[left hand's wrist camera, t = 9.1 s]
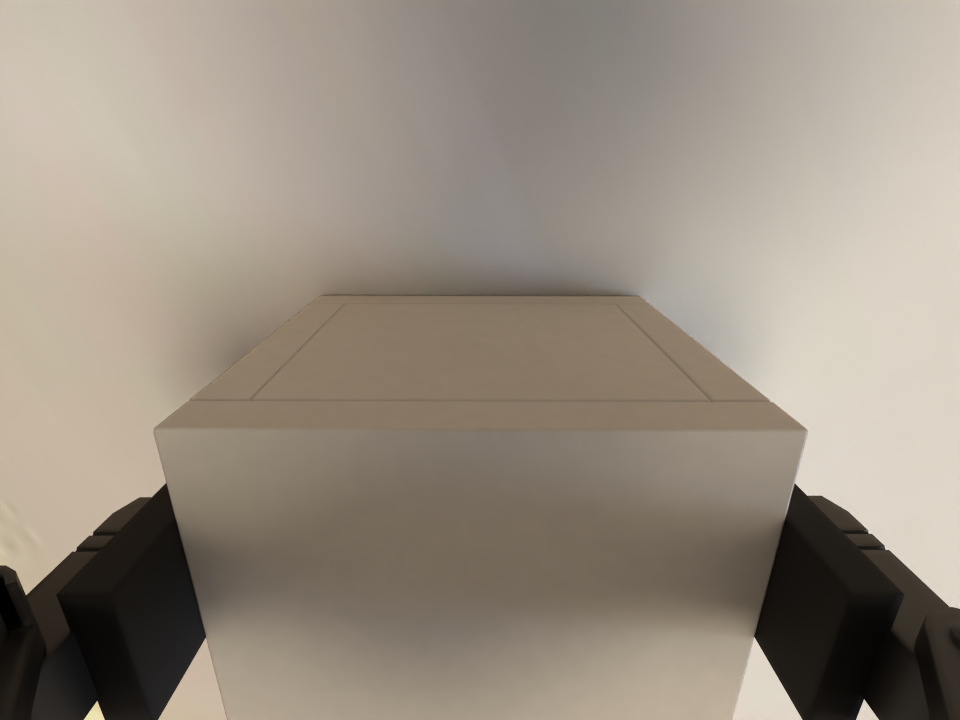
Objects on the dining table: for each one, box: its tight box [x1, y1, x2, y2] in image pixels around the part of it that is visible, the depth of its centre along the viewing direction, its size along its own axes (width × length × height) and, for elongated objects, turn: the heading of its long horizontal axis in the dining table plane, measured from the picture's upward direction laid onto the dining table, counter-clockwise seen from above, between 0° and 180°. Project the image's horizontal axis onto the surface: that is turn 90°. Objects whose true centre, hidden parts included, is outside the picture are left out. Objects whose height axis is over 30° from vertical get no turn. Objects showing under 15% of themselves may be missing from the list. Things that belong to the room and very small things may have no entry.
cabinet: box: [154, 295, 808, 720], centre depth 15 cm, size 18×10×9 cm, turn 0°
